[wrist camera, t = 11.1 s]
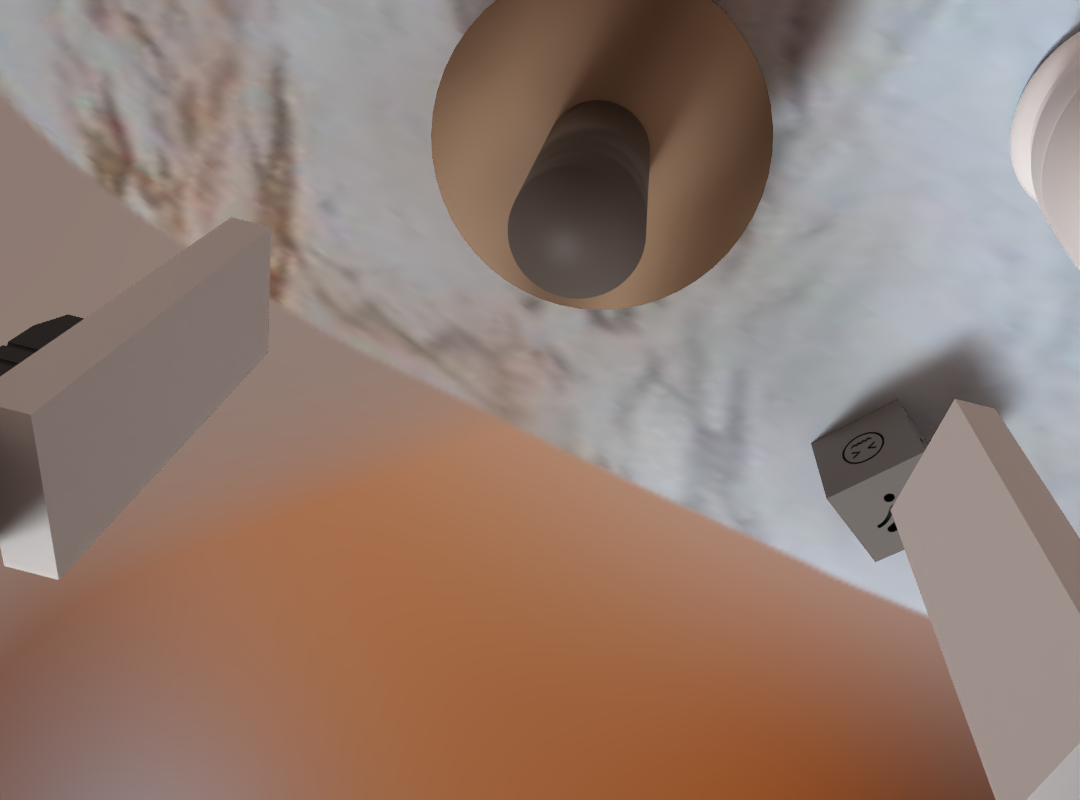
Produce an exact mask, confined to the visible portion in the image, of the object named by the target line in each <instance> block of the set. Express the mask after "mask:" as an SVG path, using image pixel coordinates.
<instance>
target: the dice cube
mask: <svg viewBox="0 0 1080 800" xmlns="http://www.w3.org/2000/svg"><path fill="white" fill-rule="evenodd" d="M811 444H812V448H813V452H814V455H815V459H816V462H817V466H818V469H819V473H820V476H821V480H822V483H823V487H824V491H825V494H826V498H827V500H828V501H829V502H830V503H831V505H832V506H833V507H834V509H835V510H836V511H837V513H838V514H839V515H840V516H841V518H842V519H843V520H844V522H845V523H846V524H847V526H848V527H849V528H850V529H851V531H852V532H853V533H854V535H855V536H856V537H857V539H858V540H859V541H860V542H861V544H862V545H863V546H864V548H865V549H866V550H867V552H868V553H869V554H870V556H871V557H872V558H873V559H874V561H875V562H876V561H879V560H881V559H883V558H886V557H888V556H890V555H893V554H895V553H897V552H900V551H902V550H904V546H903V543H902V541H901V538H900V535H899V532H898V530H897V527H896V524H895V521H894V519H893V516H892V513H891V508H892V507H893V505H894V503H895V501H896V500H897V498H898V496H899V495H900V493H901V491H902V489H903V488H904V486H905V484H906V482H907V481H908V479H909V477H910V476H911V474H912V472H913V470H914V469H915V467H916V465H917V463H918V462H919V460H920V458H921V456H922V455H923V453H924V451H925V450H926V448H927V446H928V444H927V443H926V441H925V440H924V438H923V437H922V435H921V434H920V432H919V431H918V429H917V428H916V426H915V425H914V423H913V422H912V421H911V419H910V418H909V416H908V415H907V413H906V412H905V410H904V409H903V407H902V406H901V404H900V403H899V401H898V400H895V401H893V402H891V403H889V404H887V405H885V406H883V407H881V408H879V409H877V410H875V411H873V412H871V413H869V414H867V415H865V416H864V417H862V418H860V419H858V420H856V421H854V422H852V423H850V424H848V425H846V426H844V427H842V428H840V429H838V430H836V431H834V432H832V433H830V434H829V435H827V436H825V437H823V438H821V439H819V440H817V441H815V442H813V443H811Z"/></svg>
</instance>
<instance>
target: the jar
mask: <svg viewBox="0 0 1080 800" xmlns="http://www.w3.org/2000/svg"><path fill="white" fill-rule="evenodd" d="M1010 156H1011V161H1012V165H1013V169H1014V171H1015V174H1016V176H1017V178H1018V180H1019V182H1020V184H1021V185H1022V187H1023V188H1024V189H1025V191H1026V192H1027V193H1028V194H1029V195H1030V196H1031V197H1032V198H1033V199H1034V200H1036V201H1037V202H1038V203H1039V205H1040V208H1041V210H1042V212H1043V214H1044V216H1045V218H1046V219H1047V221H1048V223H1049V224H1050V226H1051V227H1052V229H1053V230H1054V232H1055V234H1056V236H1057V238H1058V239H1059V241H1060V243H1061V245H1062V246H1063V248H1064V250H1065V251H1066V253H1067V254H1068V256H1069V257H1070V258H1071V260H1072V261H1073V263H1074V264H1075V265H1076V266H1077V268H1078V269H1079V270H1080V31H1079V32H1078V33H1076V34H1075V35H1073V36H1072V37H1071V38H1069V39H1068V40H1067V41H1065V42H1064V43H1063V44H1062V45H1060V46H1059V47H1058V48H1057V49H1056V50H1055V51H1054V52H1053V53H1052V54H1051V55H1050V56H1049V57H1048V58H1047V59H1046V60H1045V61H1044V62H1043V63H1042V65H1041V66H1040V67H1039V68H1038V70H1037V71H1036V72H1035V73H1034V75H1033V76H1032V78H1031V79H1030V81H1029V82H1028V84H1027V86H1026V88H1025V89H1024V91H1023V93H1022V95H1021V97H1020V99H1019V102H1018V104H1017V107H1016V110H1015V113H1014V116H1013V120H1012V124H1011V130H1010Z"/></svg>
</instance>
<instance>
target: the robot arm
mask: <svg viewBox="0 0 1080 800" xmlns="http://www.w3.org/2000/svg"><path fill="white" fill-rule="evenodd" d="M270 246H271V227H268V226H264V225H260V224H256V223H252V222H248V221H244V220H240V219H236V218H232V217H231V218H230V219H228V220H227V221H225V222H224V223H223V224H221V225H220V226H218V227H217V228H215V229H214V230H212V231H211V232H209V233H208V234H207V235H205V236H204V237H202V238H201V239H199V240H198V241H196V242H195V243H194V244H192V245H191V246H189V247H188V248H186V249H185V250H183V251H182V252H180V253H179V254H178V255H176V256H175V257H173V258H172V259H170V260H169V261H167V262H166V263H165V264H163V265H162V266H160V267H159V268H157V269H156V270H154V271H153V272H151V273H150V274H149V275H147V276H146V277H144V278H143V279H141V280H140V281H138V282H137V283H135V284H134V285H133V286H131V287H130V288H128V289H127V290H125V291H124V292H122V293H121V294H120V295H118V296H117V297H115V298H114V299H112V300H111V301H109V302H108V303H106V304H105V305H104V306H102V307H101V308H99V309H98V310H96V311H95V312H93V313H92V314H90V315H89V316H87V317H86V318H85V319H84V318H80V317H76V316H71V315H65V316H62V317H59V318H56V319H53V320H50V321H46V322H43V323H41V324H37V325H34V326H32V327H30V328H29V329H28V330H26V331H24V332H23V333H21V334H20V335H18V336H17V337H15V338H13V339H12V340H10V341H9V342H8V345H7V346H4V345H3V346H1V347H0V548H1V552H2V557H3V562H4V566H7V567H10V568H15V569H18V570H22V571H26V572H30V573H34V574H38V575H41V576H45V577H49V578H53V579H57V580H59V579H60V578H61V577H62V576H63V575H64V574H65V573H66V571H67V570H68V569H69V568H70V567H71V566H72V565H73V564H74V563H75V562H76V561H77V560H78V558H79V557H80V556H81V555H82V554H83V553H84V552H85V551H86V550H87V549H88V548H89V546H90V545H91V544H92V543H93V542H94V541H95V540H96V539H97V538H98V536H100V535H101V533H102V532H103V531H104V530H105V529H106V528H107V527H108V526H109V525H110V524H111V523H112V522H113V520H114V519H115V518H116V517H117V516H118V515H119V514H120V513H121V512H122V511H123V510H124V509H125V507H126V506H127V505H128V504H129V503H130V502H131V501H132V500H133V499H134V498H135V497H136V496H137V494H138V493H139V492H140V491H141V490H142V489H143V488H144V487H145V486H146V485H147V483H148V482H149V481H150V480H151V479H152V478H153V477H154V476H155V475H156V474H157V473H158V472H159V471H160V469H161V468H162V467H163V466H164V465H165V464H166V463H167V462H168V461H169V460H170V459H171V457H172V456H173V455H174V454H175V453H176V452H177V451H178V450H179V449H180V448H181V447H182V445H184V443H185V442H186V441H187V440H188V439H189V438H190V437H191V436H192V435H193V434H194V433H195V431H196V430H197V429H198V428H199V427H200V426H201V425H202V424H203V423H204V422H205V421H206V419H207V418H208V417H209V416H210V415H211V414H212V413H213V412H214V411H215V410H216V409H217V407H219V405H220V404H221V403H222V402H223V401H224V400H225V399H226V398H227V397H228V396H229V395H230V394H231V392H232V391H233V390H234V389H235V388H236V387H237V386H238V385H239V384H240V383H241V381H242V380H243V379H244V378H245V377H246V376H247V375H248V374H249V373H250V372H251V371H252V370H253V368H254V367H255V366H256V365H257V364H258V363H259V362H260V361H261V360H262V359H263V358H264V356H266V354H267V353H268V330H269V288H270ZM891 513H892V516H893V519H894V521H895V524H896V527H897V530H898V532H899V535H900V538H901V541H902V543H903V546H904V549H905V552H906V554H907V557H908V560H909V563H910V565H911V568H912V571H913V574H914V576H915V579H916V582H917V585H918V587H919V590H920V593H921V596H922V598H923V601H924V604H925V607H926V609H927V612H928V615H929V618H930V620H931V623H932V626H933V629H934V631H935V634H936V637H937V640H938V642H939V645H940V648H941V651H942V653H943V656H944V659H945V662H946V664H947V667H948V670H949V673H950V675H951V678H952V681H953V684H954V686H955V689H956V692H957V695H958V697H959V700H960V703H961V706H962V708H963V711H964V714H965V717H966V719H967V722H968V725H969V728H970V730H971V733H972V736H973V739H974V741H975V744H976V747H977V750H978V752H979V755H980V758H981V761H982V763H983V766H984V769H985V772H986V774H987V777H988V780H989V783H990V785H991V788H992V791H993V794H994V796H995V799H996V800H1080V539H1079V537H1078V535H1077V534H1076V532H1075V531H1074V529H1073V528H1072V526H1071V525H1070V523H1069V522H1068V520H1067V519H1066V517H1065V515H1064V514H1063V512H1062V511H1061V509H1060V508H1059V506H1058V505H1057V503H1056V502H1055V500H1054V498H1053V497H1052V495H1051V494H1050V492H1049V491H1048V489H1047V488H1046V486H1045V485H1044V483H1043V482H1042V480H1041V478H1040V477H1039V475H1038V474H1037V472H1036V471H1035V469H1034V468H1033V466H1032V465H1031V463H1030V462H1029V460H1028V458H1027V457H1026V455H1025V454H1024V452H1023V451H1022V449H1021V448H1020V446H1019V445H1018V443H1017V442H1016V440H1015V438H1014V437H1013V435H1012V434H1011V432H1010V431H1009V429H1008V428H1007V426H1006V425H1005V423H1004V421H1003V420H1002V418H1001V417H1000V415H999V414H998V412H997V411H996V409H994V408H990V407H986V406H982V405H978V404H974V403H970V402H966V401H962V400H958V399H954V401H953V403H952V405H951V406H950V408H949V410H948V411H947V413H946V415H945V417H944V418H943V420H942V422H941V424H940V425H939V427H938V429H937V431H936V432H935V434H934V436H933V437H932V439H931V441H930V443H929V444H928V446H927V448H926V450H925V451H924V453H923V455H922V456H921V458H920V460H919V462H918V463H917V465H916V467H915V469H914V470H913V472H912V474H911V476H910V477H909V479H908V481H907V482H906V484H905V486H904V488H903V489H902V491H901V493H900V495H899V496H898V498H897V500H896V501H895V503H894V505H893V507H892V508H891Z"/></svg>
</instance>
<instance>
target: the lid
mask: <svg viewBox="0 0 1080 800" xmlns="http://www.w3.org/2000/svg"><path fill="white" fill-rule="evenodd" d="M431 140H432V158H433V163H434V169H435V174H436V180H437V183H438V186H439V189H440V192H441V196H442V199H443V201H444V204H445V206H446V208H447V210H448V212H449V215H450V217H451V219H452V221H453V222H454V224H455V226H456V227H457V229H458V231H459V232H460V234H461V235H462V237H463V238H464V240H465V241H466V242H467V243H468V245H469V246H470V247H471V249H472V250H473V251H474V252H475V254H476V255H477V256H479V257H480V258H481V259H482V260H483V261H484V262H485V263H486V264H487V265H488V266H489V267H490V268H491V269H492V270H493V271H495V272H496V273H497V274H498V275H500V276H501V277H502V278H504V279H505V280H506V281H508V282H510V283H511V284H513V285H514V286H516V287H518V288H519V289H521V290H523V291H525V292H527V293H529V294H532V295H534V296H536V297H538V298H540V299H543V300H546V301H550V302H553V303H556V304H559V305H564V306H569V307H574V308H580V309H594V310H607V309H622V308H627V307H633V306H639V305H643V304H646V303H649V302H653V301H656V300H659V299H661V298H664V297H666V296H668V295H671V294H673V293H675V292H677V291H679V290H681V289H683V288H684V287H686V286H688V285H689V284H691V283H693V282H694V281H696V280H697V279H699V278H700V277H701V276H703V275H704V274H705V273H707V272H708V271H709V270H710V269H712V268H713V267H714V266H715V265H716V264H717V263H718V262H719V261H720V260H721V259H722V258H723V257H724V256H725V255H726V254H727V253H728V252H729V251H730V249H731V248H732V247H733V246H734V244H735V243H736V242H737V241H738V239H739V238H740V237H741V236H742V234H743V232H744V231H745V229H746V227H747V226H748V224H749V222H750V221H751V219H752V217H753V215H754V213H755V211H756V209H757V206H758V204H759V202H760V200H761V197H762V195H763V191H764V188H765V185H766V181H767V178H768V175H769V169H770V162H771V156H772V144H773V123H772V114H771V104H770V100H769V96H768V92H767V88H766V84H765V80H764V78H763V75H762V73H761V70H760V68H759V65H758V62H757V60H756V58H755V56H754V54H753V52H752V51H751V49H750V47H749V45H748V44H747V42H746V40H745V38H744V37H743V35H742V34H741V32H740V31H739V30H738V28H737V27H736V26H735V24H734V23H733V22H732V21H731V19H730V18H729V17H728V15H727V14H726V13H725V12H724V11H723V10H722V9H721V8H720V7H719V6H718V5H717V4H716V3H715V2H713V1H712V0H496V1H495V2H494V3H492V4H491V5H490V6H489V7H488V8H487V9H485V10H484V11H483V13H482V14H481V15H480V16H479V17H478V18H477V19H476V20H475V21H474V23H473V24H472V25H471V26H470V27H469V28H468V30H467V31H466V33H465V34H464V36H463V37H462V39H461V40H460V42H459V43H458V45H457V46H456V47H455V49H454V51H453V53H452V55H451V57H450V59H449V61H448V64H447V66H446V68H445V70H444V73H443V76H442V79H441V82H440V85H439V88H438V90H437V95H436V100H435V105H434V110H433V119H432V133H431Z"/></svg>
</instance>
